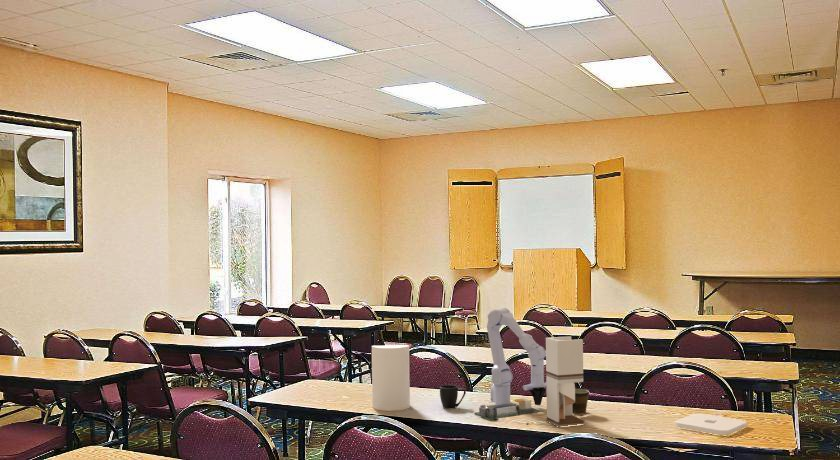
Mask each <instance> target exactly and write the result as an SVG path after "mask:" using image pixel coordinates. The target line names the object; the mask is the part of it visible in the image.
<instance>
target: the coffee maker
mask: <svg viewBox="0 0 840 460" xmlns="http://www.w3.org/2000/svg"><path fill="white" fill-rule="evenodd" d="M545 351H546V356H545V372H546V374H545V375H546V376H545V377H546V378H545V379H546V381H545V383H546V388H545V389H546V422H547V421H548V422H550V423H552V424H555V425H556V426H558V427H560V426H568V425H577V424H584V425H585V420H583V419H582V418H579V417H578V416H575V415H573V414H574V413H573V411H572V404H573V403H575V389H576V387H575V386H576V385H575V384H576V383H583V382H584V341H583V339H582V338H580V339H572V336H557V337H555V336H551V337H545ZM548 422H547V423H548ZM550 423H549V424H550ZM552 424H551V425H552ZM556 426H555V427H556ZM558 427H557V428H558Z"/></svg>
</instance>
